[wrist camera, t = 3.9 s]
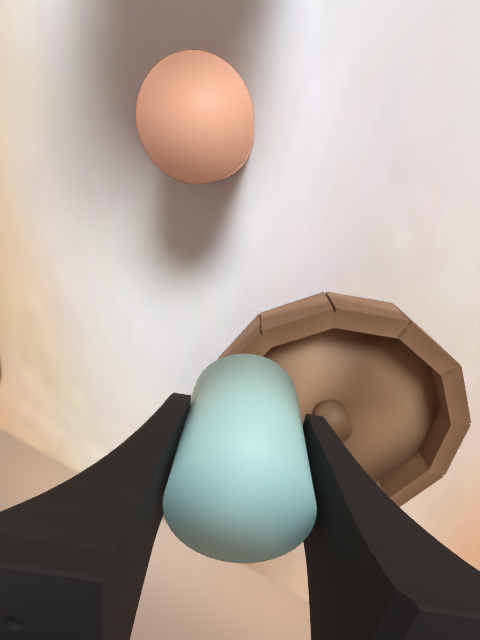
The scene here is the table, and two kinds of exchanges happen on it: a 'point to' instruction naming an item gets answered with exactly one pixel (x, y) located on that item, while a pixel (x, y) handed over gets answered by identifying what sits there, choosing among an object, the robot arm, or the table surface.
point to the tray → (369, 384)
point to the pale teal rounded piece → (241, 465)
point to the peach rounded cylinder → (195, 117)
